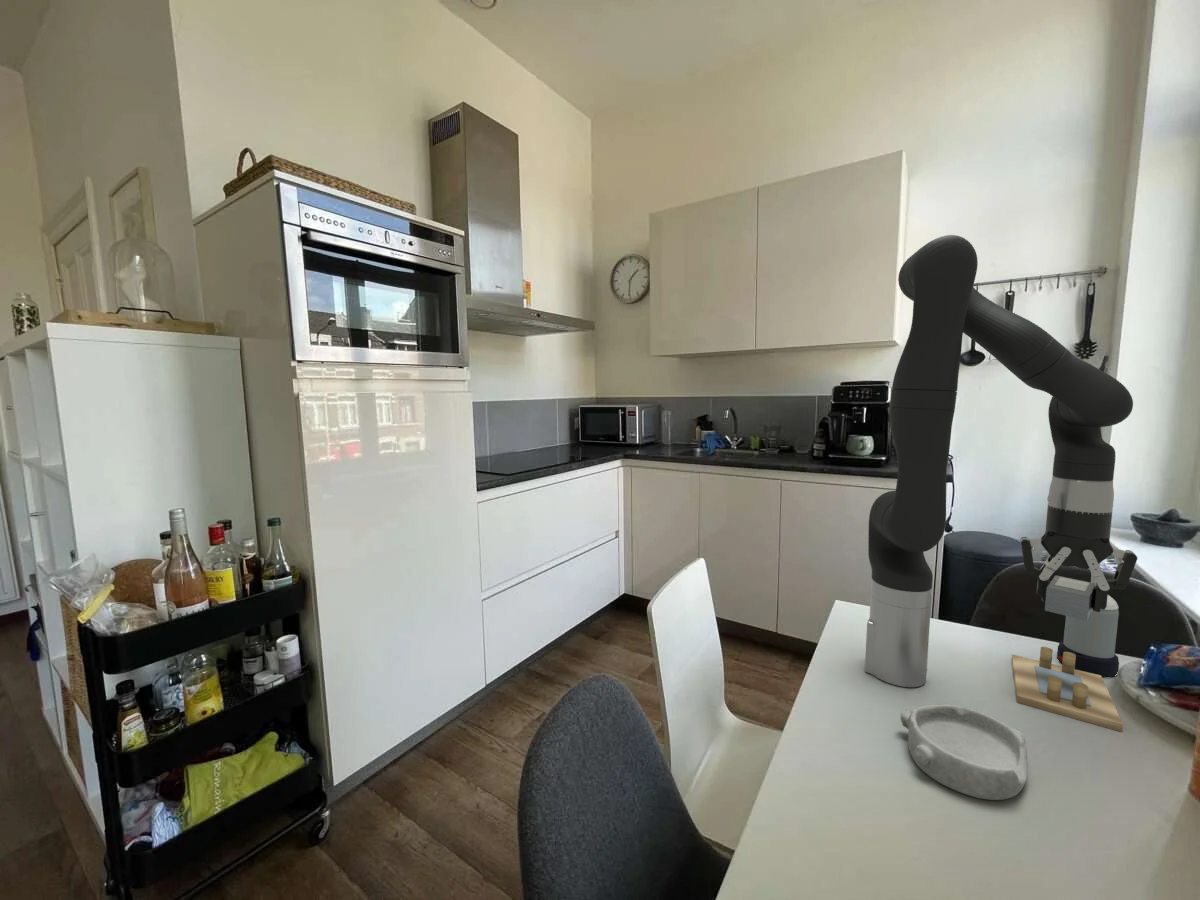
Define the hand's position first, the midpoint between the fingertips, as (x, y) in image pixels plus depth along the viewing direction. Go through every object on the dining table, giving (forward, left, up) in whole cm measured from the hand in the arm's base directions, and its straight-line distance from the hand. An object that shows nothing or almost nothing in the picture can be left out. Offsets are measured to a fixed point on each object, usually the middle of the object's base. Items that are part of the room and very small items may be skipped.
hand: (1069, 605), depth 81 cm
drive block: (0, 0, -1) cm, 1 cm away
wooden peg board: (0, 0, -15) cm, 15 cm away
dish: (-13, -30, -16) cm, 36 cm away
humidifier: (+5, +14, -16) cm, 22 cm away
